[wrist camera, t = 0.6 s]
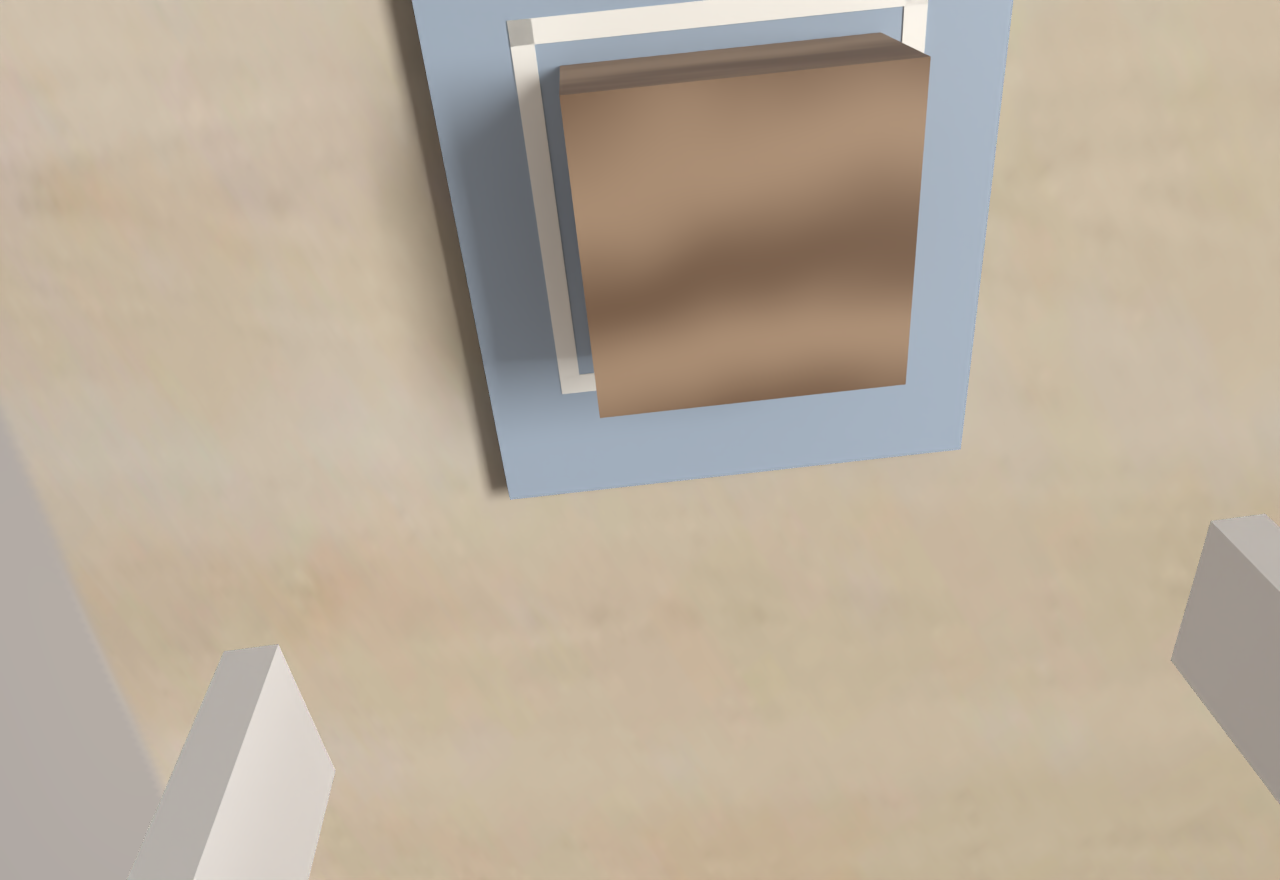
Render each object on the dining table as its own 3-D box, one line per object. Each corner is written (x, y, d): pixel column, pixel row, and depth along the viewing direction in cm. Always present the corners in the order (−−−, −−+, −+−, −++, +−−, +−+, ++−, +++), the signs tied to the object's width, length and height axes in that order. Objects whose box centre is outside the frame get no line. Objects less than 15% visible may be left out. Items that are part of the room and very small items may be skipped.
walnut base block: (559, 65, 31) (559, 95, 27) (880, 32, 31) (930, 56, 27) (595, 355, 37) (599, 418, 33) (866, 326, 37) (905, 384, 33)
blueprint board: (388, -148, 28) (382, -148, 28) (1024, -211, 29) (1038, -214, 28) (511, 486, 41) (509, 500, 40) (952, 437, 41) (960, 449, 40)
